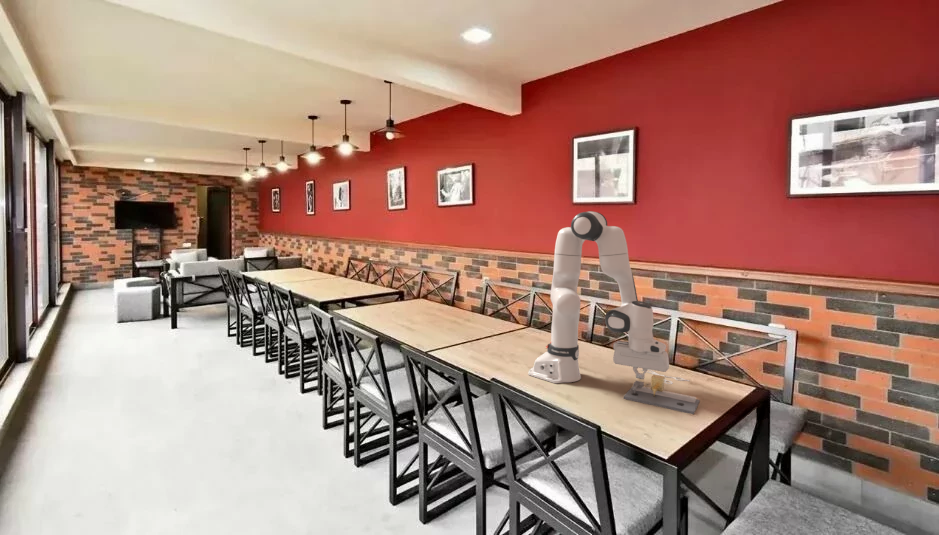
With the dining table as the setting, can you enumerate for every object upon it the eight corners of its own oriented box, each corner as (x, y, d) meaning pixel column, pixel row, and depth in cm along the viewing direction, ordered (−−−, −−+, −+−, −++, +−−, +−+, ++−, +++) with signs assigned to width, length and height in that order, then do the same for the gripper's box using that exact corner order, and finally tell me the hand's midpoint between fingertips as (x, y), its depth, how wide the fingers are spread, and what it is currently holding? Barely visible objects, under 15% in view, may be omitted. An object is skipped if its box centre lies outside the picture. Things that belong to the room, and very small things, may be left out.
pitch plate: (623, 398, 170) (623, 388, 169) (632, 388, 179) (633, 378, 179) (693, 414, 156) (694, 403, 155) (699, 402, 165) (699, 392, 165)
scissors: (672, 385, 181) (633, 369, 199) (672, 387, 182) (633, 371, 199) (690, 380, 186) (650, 366, 204) (690, 382, 186) (650, 367, 204)
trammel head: (648, 395, 168) (648, 380, 167) (653, 389, 173) (653, 374, 173) (659, 398, 165) (660, 382, 164) (664, 391, 171) (664, 376, 170)
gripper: (611, 341, 176) (610, 375, 178) (666, 349, 164) (666, 386, 166) (616, 338, 181) (615, 371, 183) (670, 345, 169) (669, 380, 171)
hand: (640, 378), depth 174 cm, fingers closed
